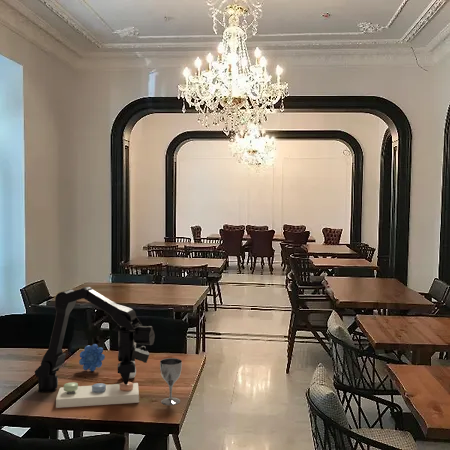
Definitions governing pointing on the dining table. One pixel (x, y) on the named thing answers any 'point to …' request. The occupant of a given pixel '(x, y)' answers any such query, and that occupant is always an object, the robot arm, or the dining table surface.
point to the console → (97, 396)
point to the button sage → (70, 387)
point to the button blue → (98, 387)
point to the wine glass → (170, 376)
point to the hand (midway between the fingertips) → (126, 384)
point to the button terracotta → (126, 386)
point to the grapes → (91, 357)
